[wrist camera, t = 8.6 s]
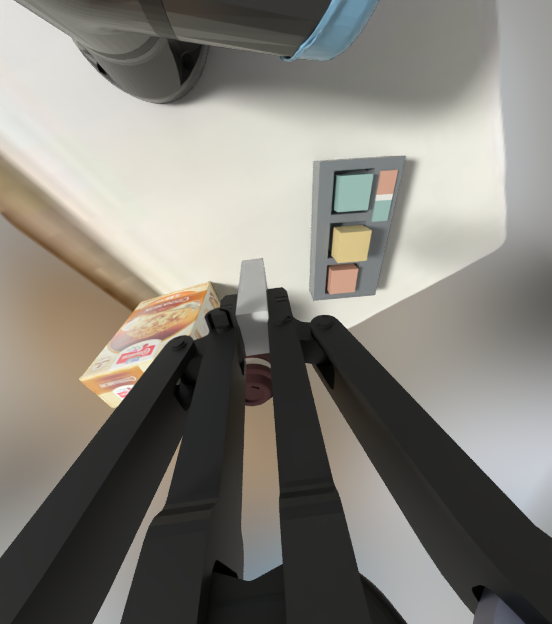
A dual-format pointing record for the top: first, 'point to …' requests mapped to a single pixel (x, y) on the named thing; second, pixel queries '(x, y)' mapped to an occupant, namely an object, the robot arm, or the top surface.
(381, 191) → the keypad board
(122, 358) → the coffeecake box
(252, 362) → the coffee cup
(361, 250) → the key mid
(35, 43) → the top surface
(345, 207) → the key
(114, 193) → the top surface
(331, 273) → the key
